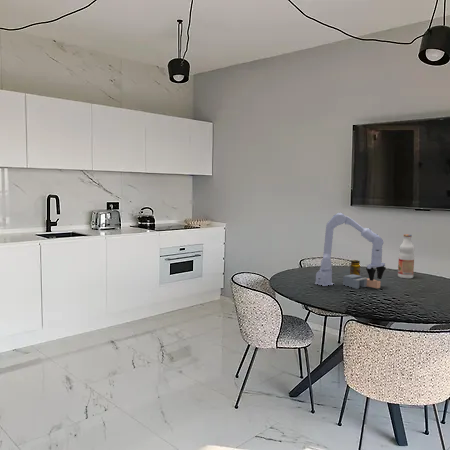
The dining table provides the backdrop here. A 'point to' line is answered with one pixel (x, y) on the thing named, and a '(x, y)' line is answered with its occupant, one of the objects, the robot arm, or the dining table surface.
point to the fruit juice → (406, 258)
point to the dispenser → (354, 281)
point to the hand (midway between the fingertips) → (375, 279)
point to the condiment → (355, 267)
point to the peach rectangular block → (373, 283)
